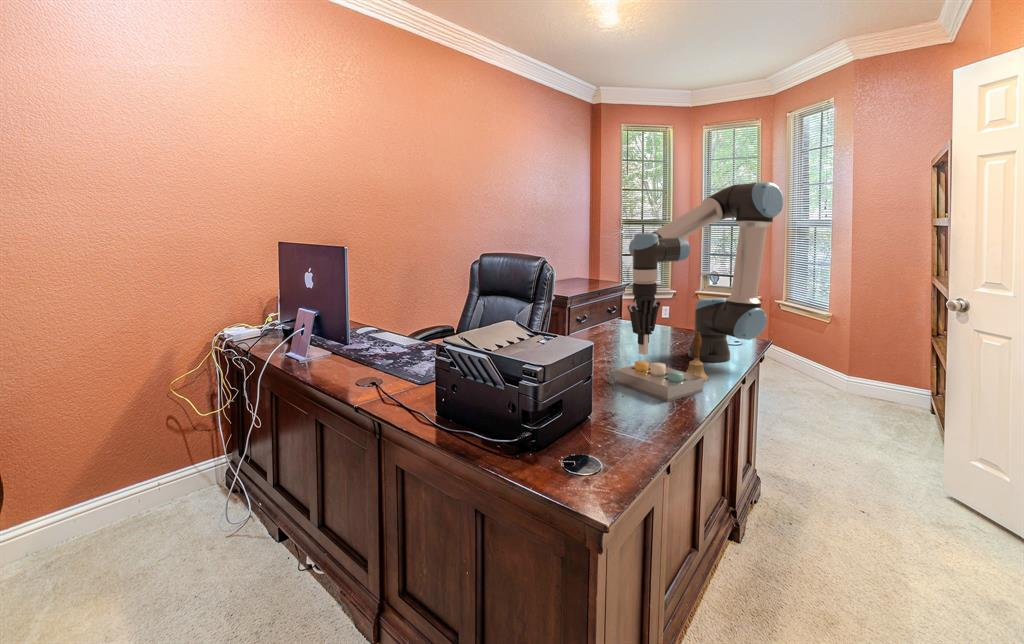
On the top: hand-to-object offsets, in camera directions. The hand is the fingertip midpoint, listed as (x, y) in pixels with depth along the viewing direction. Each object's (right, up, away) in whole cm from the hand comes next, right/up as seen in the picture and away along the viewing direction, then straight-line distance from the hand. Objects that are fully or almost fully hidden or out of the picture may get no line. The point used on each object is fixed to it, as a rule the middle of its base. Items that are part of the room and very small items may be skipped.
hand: (643, 353), depth 167 cm
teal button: (+7, -10, -10) cm, 16 cm away
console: (+4, -11, -4) cm, 12 cm away
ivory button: (+3, -8, -5) cm, 10 cm away
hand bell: (+19, -9, +5) cm, 21 cm away
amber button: (0, -7, +1) cm, 8 cm away
